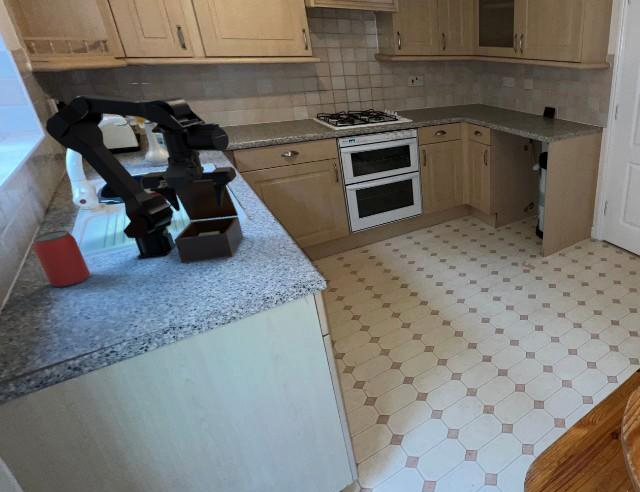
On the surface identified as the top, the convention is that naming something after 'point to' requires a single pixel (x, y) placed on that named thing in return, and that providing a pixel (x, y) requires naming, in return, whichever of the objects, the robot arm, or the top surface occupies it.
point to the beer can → (61, 258)
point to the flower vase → (150, 141)
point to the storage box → (209, 239)
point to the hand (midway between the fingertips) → (199, 208)
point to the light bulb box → (161, 141)
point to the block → (209, 233)
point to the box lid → (204, 201)
